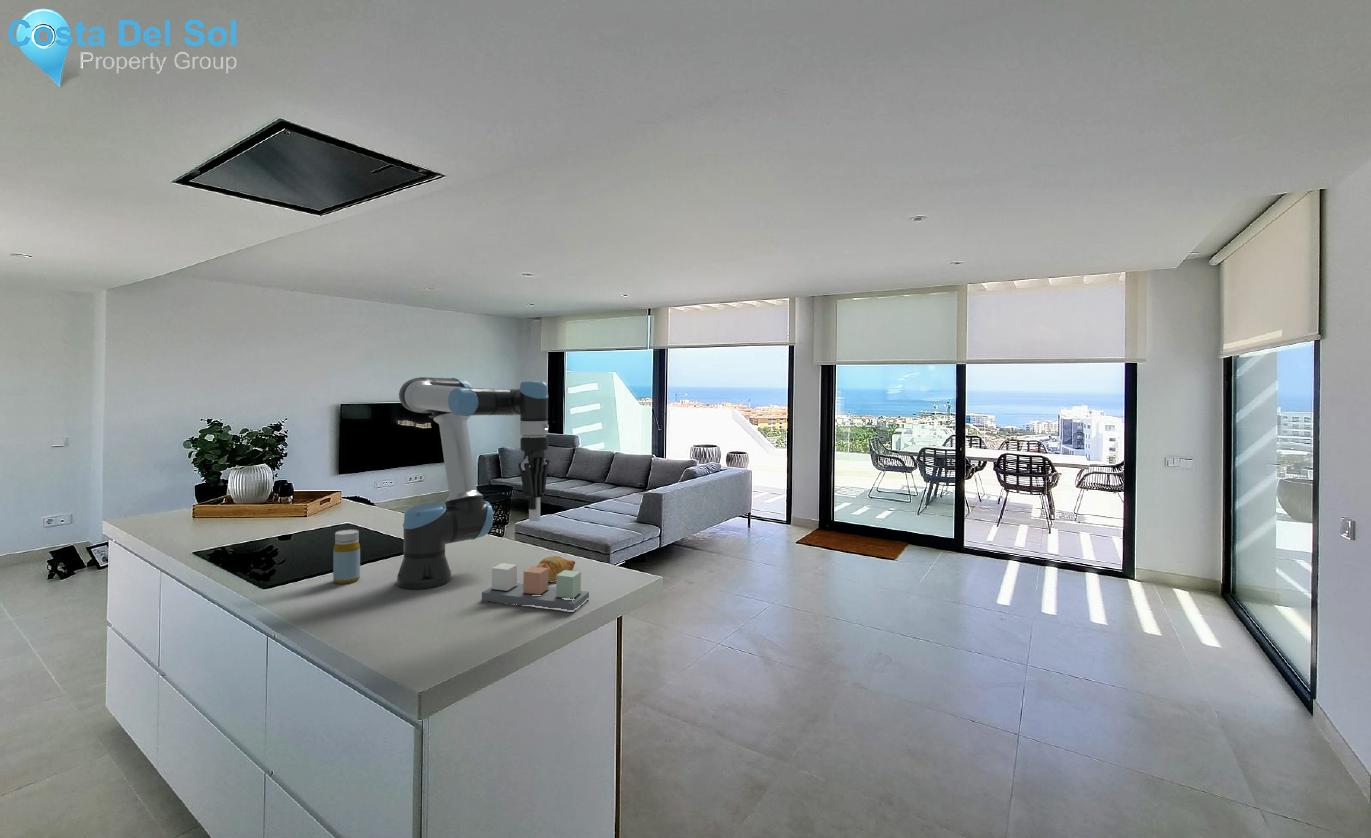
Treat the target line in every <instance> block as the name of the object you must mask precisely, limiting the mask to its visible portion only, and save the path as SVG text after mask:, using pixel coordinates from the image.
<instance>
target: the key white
mask: <svg viewBox="0 0 1371 838" xmlns="http://www.w3.org/2000/svg"><path fill="white" fill-rule="evenodd" d="M517 583H518V564H512V563H504V562H501V563H499V564H497V565H495V566H493V567H491V587H492V589H497V590H505V591H508V590H510V589H511V588H513V587H515V586H516V585H517Z"/></svg>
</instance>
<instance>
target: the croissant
mask: <svg viewBox="0 0 1371 838" xmlns="http://www.w3.org/2000/svg"><path fill="white" fill-rule="evenodd" d="M575 561H576V560H571V559H565V558H562V557H561V556H556V555H555V556H549V557H546V558H543V559H542V560H540V562H539V563H538V564H537V565H536V566H535V567H542V568H549V571H548V582H550V583H552V582H551V581H555V580H556V575H558V574H559V573H561V572H562V571H564V570H569V571H574V570H573V569H574V567H575V564H576V562H575ZM555 582H556V581H555Z"/></svg>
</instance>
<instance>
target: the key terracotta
mask: <svg viewBox="0 0 1371 838" xmlns="http://www.w3.org/2000/svg"><path fill="white" fill-rule="evenodd" d="M548 571H549V568H542V567H536V566H530V568H527V569H525V570H524V571H523V583H522V584H523V593H530V594H538V595H540V594H541V593H543V592H544V591H546V590H547V589H548V587H549V583H548Z"/></svg>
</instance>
